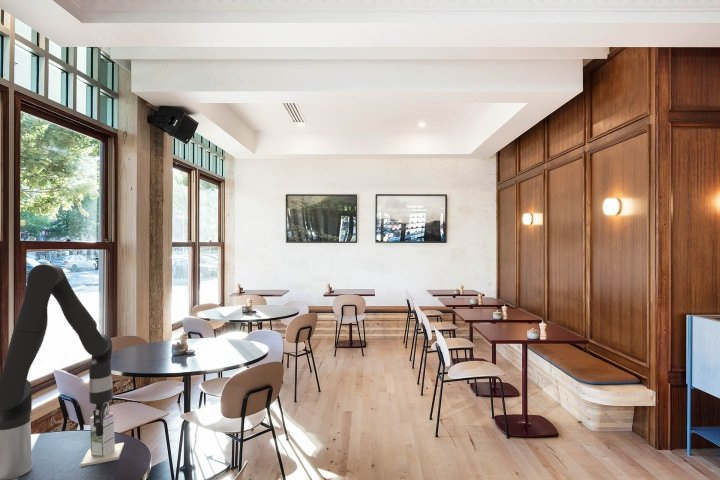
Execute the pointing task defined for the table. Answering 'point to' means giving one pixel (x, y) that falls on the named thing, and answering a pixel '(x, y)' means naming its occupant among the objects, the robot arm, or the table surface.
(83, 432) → the table surface
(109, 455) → the ceramic tile
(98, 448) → the syrup box
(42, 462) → the table surface
